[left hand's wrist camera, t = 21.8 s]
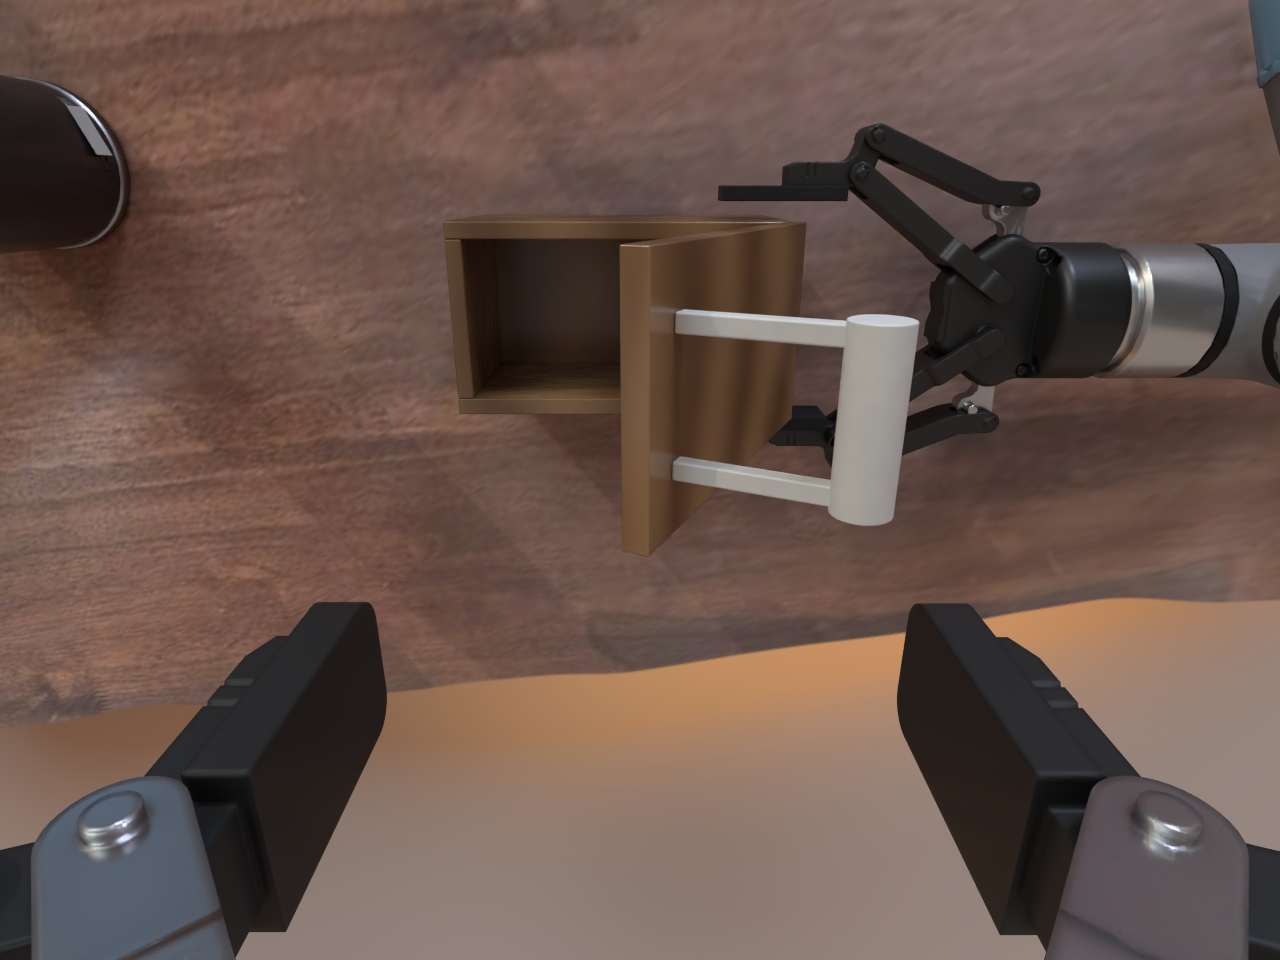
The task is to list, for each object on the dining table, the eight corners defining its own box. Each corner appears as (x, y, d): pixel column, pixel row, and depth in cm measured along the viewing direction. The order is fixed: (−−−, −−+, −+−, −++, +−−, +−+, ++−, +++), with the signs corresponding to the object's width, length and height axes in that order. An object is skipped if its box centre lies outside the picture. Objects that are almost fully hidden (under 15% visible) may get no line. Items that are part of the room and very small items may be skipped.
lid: (621, 551, 25) (873, 607, 22) (618, 244, 22) (919, 255, 18) (773, 416, 40) (936, 437, 37) (786, 221, 37) (968, 225, 34)
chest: (492, 372, 50) (459, 414, 41) (481, 214, 47) (442, 221, 37) (754, 372, 50) (780, 414, 41) (763, 215, 47) (794, 221, 37)
